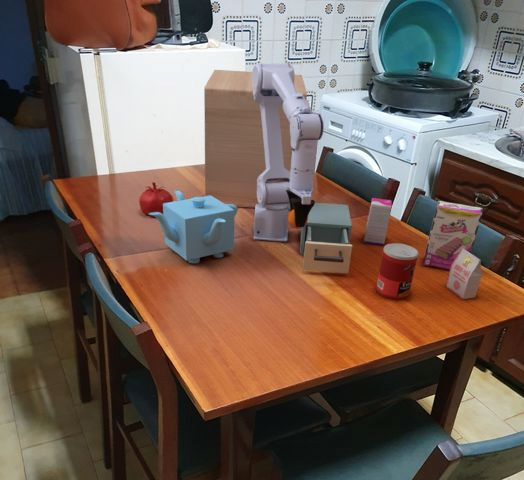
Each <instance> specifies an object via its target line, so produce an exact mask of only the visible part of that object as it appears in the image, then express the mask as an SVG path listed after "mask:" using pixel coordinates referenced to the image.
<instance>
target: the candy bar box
mask: <svg viewBox="0 0 524 480" xmlns="http://www.w3.org/2000/svg"><path fill="white" fill-rule="evenodd" d="M483 210H484V209H483V207H479V206H475V205H474V206H473V205H466V204H461V203H455V202H449V201H443V200H438V201H437V205H436V208H435V212H434V216H433V219H432V223H431V227H430V231H429V236H428V238H427V244H426V247H425V250H424V255H423V259H422V266H424V267H425V266H426V267H429V268H430V267H431V268H436V269H440V270H441V269H442V270H445V271H450V268H451V265H452V263H453V262H454V260H455V259H456V257H457V256H458V254H459V252H460V250H461V248H462V249H465V250H466V251H468V252H469V253H471V254H472V249H473V246H474V243H475V240H476V236H477V233H478V230H479V227H480V224H481V220H482V216H483V212H484V211H483Z"/></svg>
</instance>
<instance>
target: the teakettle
mask: <svg viewBox="0 0 524 480" xmlns="http://www.w3.org/2000/svg"><path fill="white" fill-rule="evenodd" d="M173 192H174V194H175V196H176V199H177V200H176V201H173V202H169V203H164V204H163V214H162V213H160V212H152V213H149V215H148V216H152V217H154V218H156V219H157V220H158V223H159V224H160V228H161V231H162V233H163V235H164V244H165V245H166V246H167V247H169V248H170V249H171V250H172V251H174V252H175V253H176V254H178V255H179V256H180V257H181V258H182V259H184V260H185V261H187V262H188V263H189V264H198V263H200V261H201V258H203V257H204V258H205V257H208V256H211V255H212V257H214V258H217V259H218V258H223V257H224V252H230V251H233V250H235V217H236V215H237V213H238V210H239V209H238V207H236V206H235V205H233V204H224V203H222V202H221V201H219V200H217V199H216V198H214V197H212V196H211V195H210V196H205V195H204V196H194V197H191V198H188V199H187V198H185V195H184V194H183V192H182V191H180V190H174V191H173Z"/></svg>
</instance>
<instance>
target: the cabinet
mask: <svg viewBox="0 0 524 480" xmlns="http://www.w3.org/2000/svg"><path fill="white" fill-rule="evenodd" d="M307 225H310V226H324V227H337V228H346V231H347V237H348V243H349V244H350V243H351V236H352V235H351V234H352V229H353V228H352V227H353V223H352V219H351V213H350V209H349V204H340V203H338V204H337V203H326V202H315V204H314V206H313V207H312V209H311V210H310V212H309V214H308V222H307V224H306V225H305V226H304V227H303V228H300V237H299V240H300V241H299V254H300V255H303V256H304V250H305V241H306V235H307Z"/></svg>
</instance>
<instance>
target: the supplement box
mask: <svg viewBox="0 0 524 480" xmlns="http://www.w3.org/2000/svg"><path fill="white" fill-rule="evenodd" d="M369 206H370V207H369V212H368V217H367V221H366V226H365V231H364V238H363V244H367V245H376V246H385V241H386V237H387V232H388V227H389V222H390V218H391V213H392V208H393V200H391V199H385V198H384V199H383V198H376V197H371V201H370V205H369Z"/></svg>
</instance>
